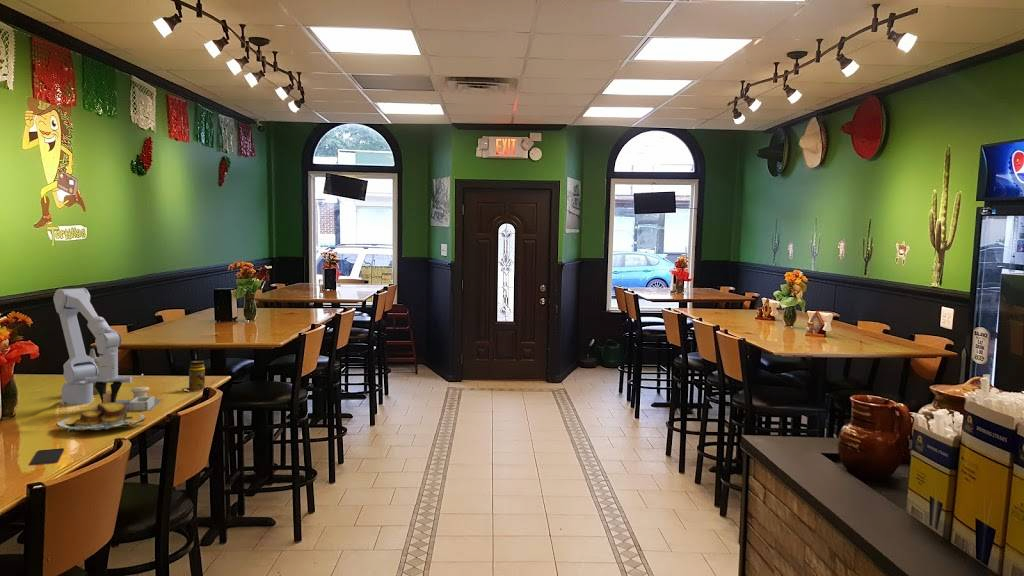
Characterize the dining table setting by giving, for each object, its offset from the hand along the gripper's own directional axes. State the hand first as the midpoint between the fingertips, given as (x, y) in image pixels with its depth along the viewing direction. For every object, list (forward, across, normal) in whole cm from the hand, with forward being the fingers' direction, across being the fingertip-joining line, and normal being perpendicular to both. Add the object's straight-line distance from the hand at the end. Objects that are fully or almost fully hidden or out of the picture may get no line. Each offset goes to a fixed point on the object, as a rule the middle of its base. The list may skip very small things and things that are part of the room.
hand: (108, 402), depth 238 cm
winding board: (+3, +5, +4) cm, 7 cm away
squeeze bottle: (+4, -15, +31) cm, 35 cm away
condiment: (+4, +22, +34) cm, 41 cm away
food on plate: (+4, +3, -18) cm, 19 cm away
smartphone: (+4, -1, -50) cm, 50 cm away
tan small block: (+2, 0, 0) cm, 2 cm away
